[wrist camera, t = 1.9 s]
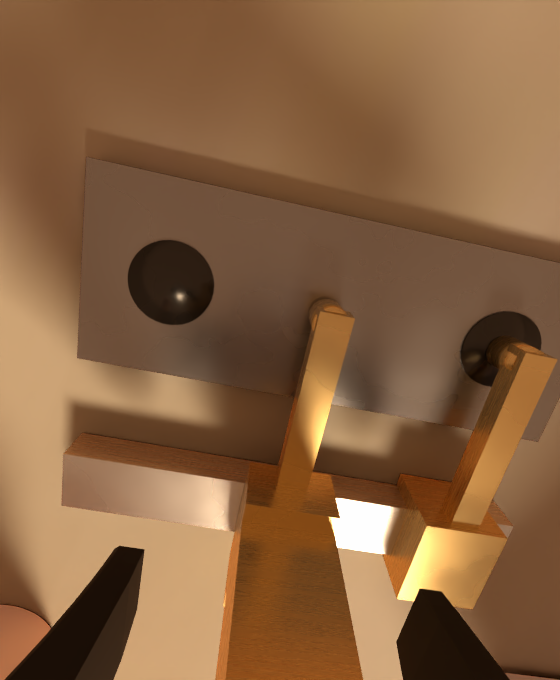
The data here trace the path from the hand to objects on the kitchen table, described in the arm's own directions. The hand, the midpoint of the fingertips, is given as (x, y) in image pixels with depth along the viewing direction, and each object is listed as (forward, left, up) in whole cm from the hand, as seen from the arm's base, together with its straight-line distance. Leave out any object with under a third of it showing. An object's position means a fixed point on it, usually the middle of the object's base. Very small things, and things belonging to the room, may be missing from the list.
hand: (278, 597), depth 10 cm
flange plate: (-1, -7, -4) cm, 8 cm away
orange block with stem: (0, -3, -3) cm, 4 cm away
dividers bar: (-1, -3, -4) cm, 5 cm away
